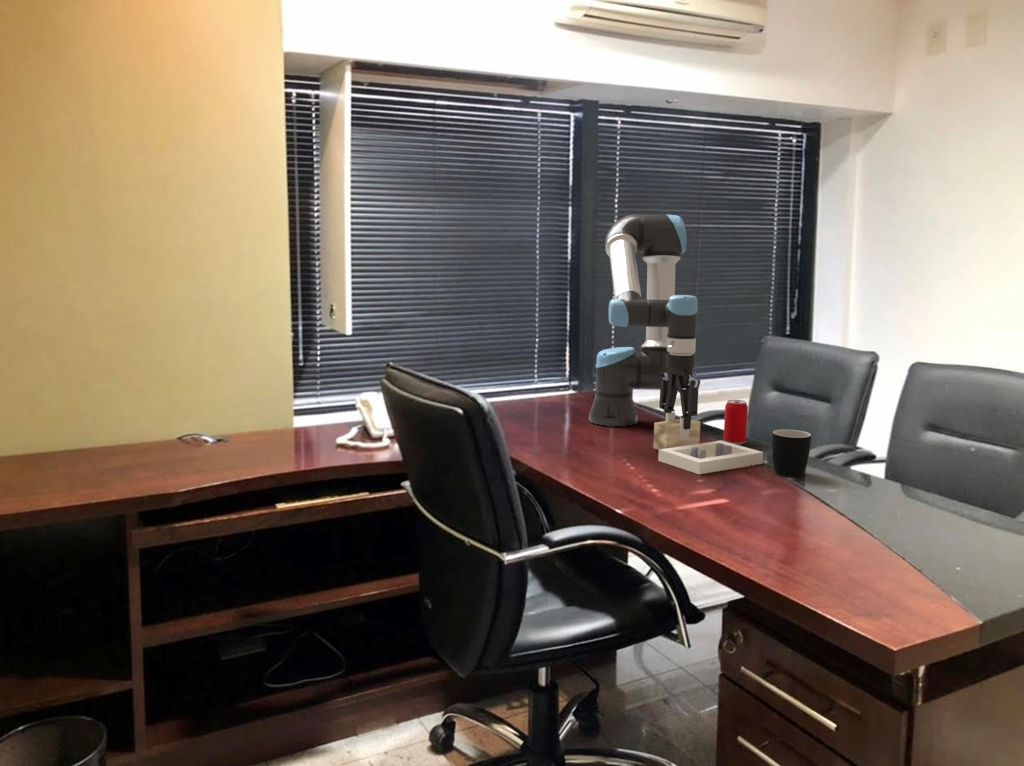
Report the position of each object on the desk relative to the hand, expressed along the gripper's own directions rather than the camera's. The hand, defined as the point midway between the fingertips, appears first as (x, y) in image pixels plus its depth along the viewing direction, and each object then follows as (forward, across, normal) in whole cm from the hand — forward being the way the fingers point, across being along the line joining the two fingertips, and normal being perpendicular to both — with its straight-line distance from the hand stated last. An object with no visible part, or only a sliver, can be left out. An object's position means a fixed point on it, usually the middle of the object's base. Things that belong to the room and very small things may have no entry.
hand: (676, 438), depth 231 cm
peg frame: (+3, +14, -1) cm, 15 cm away
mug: (+3, +30, +9) cm, 32 cm away
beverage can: (+4, +1, +21) cm, 21 cm away
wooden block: (+3, 0, 0) cm, 3 cm away
